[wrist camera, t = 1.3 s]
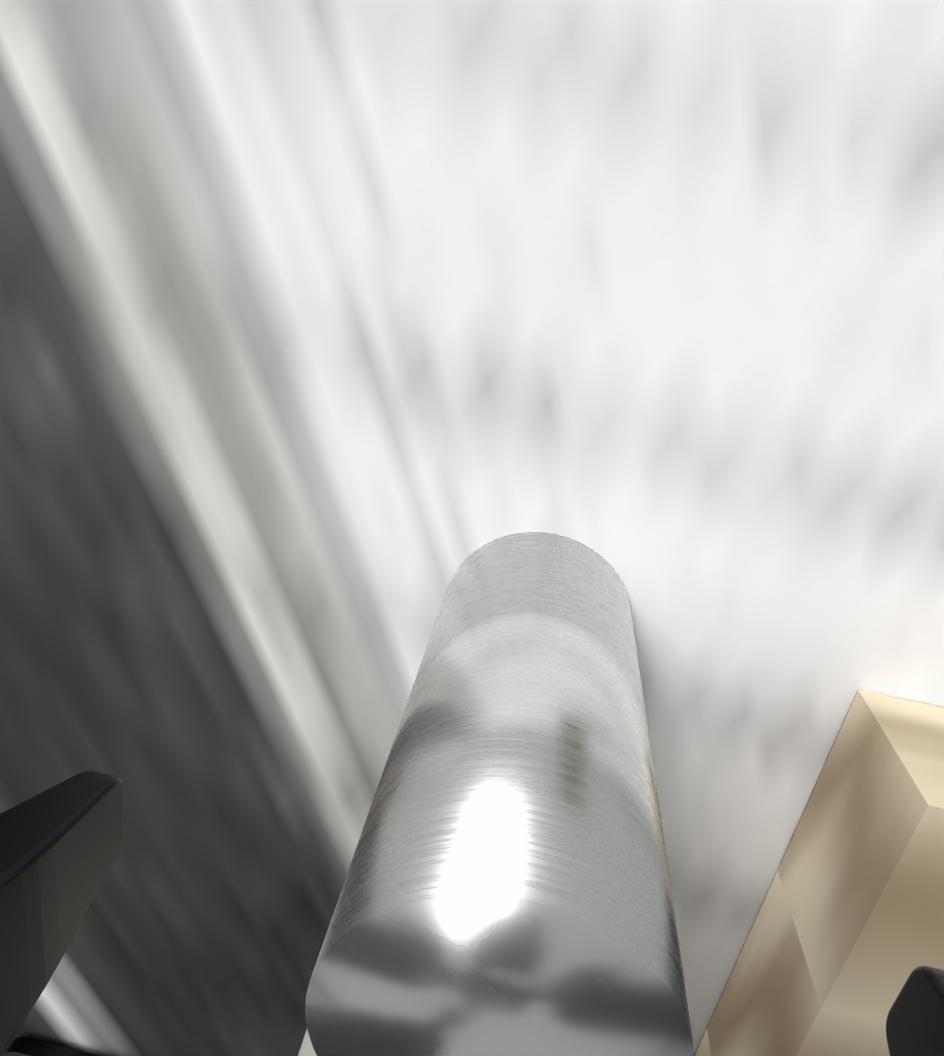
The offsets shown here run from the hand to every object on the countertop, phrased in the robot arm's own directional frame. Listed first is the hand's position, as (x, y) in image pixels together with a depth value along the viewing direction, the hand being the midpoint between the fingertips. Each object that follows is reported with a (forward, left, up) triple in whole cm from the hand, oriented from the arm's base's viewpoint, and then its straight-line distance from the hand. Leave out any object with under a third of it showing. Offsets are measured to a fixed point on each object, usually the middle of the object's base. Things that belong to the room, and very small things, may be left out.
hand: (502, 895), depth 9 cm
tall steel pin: (0, 0, -6) cm, 6 cm away
